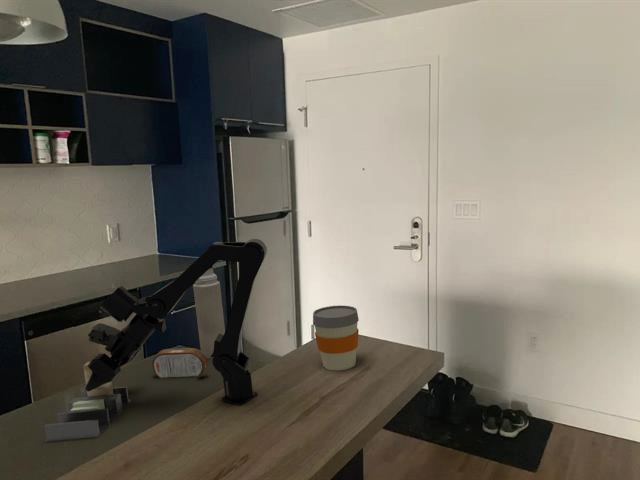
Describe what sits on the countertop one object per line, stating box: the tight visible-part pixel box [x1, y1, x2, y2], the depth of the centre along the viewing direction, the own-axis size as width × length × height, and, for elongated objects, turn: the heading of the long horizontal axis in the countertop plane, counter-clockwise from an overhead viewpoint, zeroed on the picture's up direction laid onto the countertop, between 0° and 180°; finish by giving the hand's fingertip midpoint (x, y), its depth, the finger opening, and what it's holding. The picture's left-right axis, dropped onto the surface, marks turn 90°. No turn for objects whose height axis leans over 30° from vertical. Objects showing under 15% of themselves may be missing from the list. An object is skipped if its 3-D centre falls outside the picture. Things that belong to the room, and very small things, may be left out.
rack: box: [43, 386, 131, 443], centre depth 114 cm, size 12×18×4 cm
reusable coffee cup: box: [312, 305, 359, 371], centre depth 136 cm, size 12×13×15 cm
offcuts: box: [70, 399, 105, 412], centre depth 113 cm, size 6×4×4 cm, turn 91°
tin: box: [151, 347, 209, 379], centre depth 136 cm, size 15×3×8 cm, turn 84°
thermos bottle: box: [192, 265, 226, 359], centre depth 153 cm, size 8×8×28 cm
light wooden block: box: [82, 361, 114, 397], centre depth 120 cm, size 5×2×11 cm, turn 91°
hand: (95, 382), depth 120 cm, fingers open, 9 cm apart
